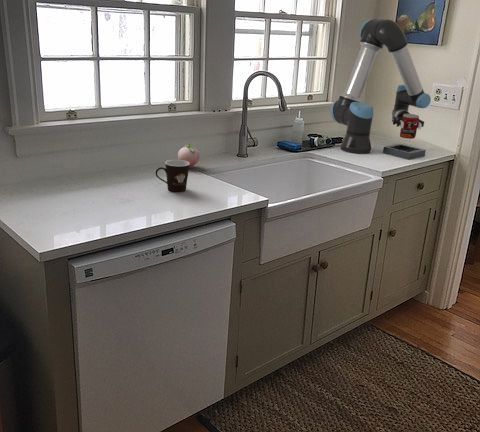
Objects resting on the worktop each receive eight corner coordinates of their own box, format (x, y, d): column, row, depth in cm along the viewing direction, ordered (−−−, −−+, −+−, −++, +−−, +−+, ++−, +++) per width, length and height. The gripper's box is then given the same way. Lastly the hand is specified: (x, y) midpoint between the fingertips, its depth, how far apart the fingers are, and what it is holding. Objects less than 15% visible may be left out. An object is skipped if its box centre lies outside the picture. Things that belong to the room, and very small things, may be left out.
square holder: (408, 159, 256) (409, 153, 255) (382, 152, 266) (383, 146, 265) (424, 156, 265) (425, 150, 264) (398, 149, 275) (399, 143, 274)
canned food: (399, 137, 260) (402, 115, 256) (399, 134, 267) (403, 113, 263) (415, 139, 258) (419, 117, 254) (415, 136, 265) (419, 114, 261)
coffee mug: (189, 186, 193) (190, 160, 190) (188, 194, 185) (188, 167, 182) (157, 185, 193) (158, 158, 189) (154, 192, 185) (155, 165, 181)
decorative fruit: (173, 166, 218) (174, 142, 214) (190, 164, 222) (191, 140, 219) (185, 172, 211) (185, 147, 207) (202, 169, 215) (203, 146, 212)
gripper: (421, 126, 277) (431, 135, 256) (382, 123, 279) (388, 132, 258) (424, 112, 275) (434, 119, 253) (384, 109, 276) (391, 116, 255)
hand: (411, 126), depth 256 cm, fingers closed on canned food, 8 cm apart
